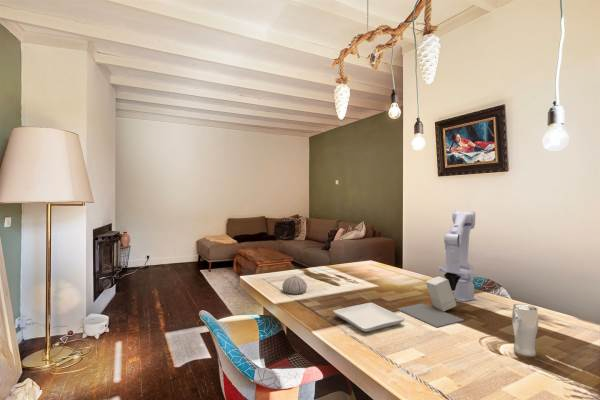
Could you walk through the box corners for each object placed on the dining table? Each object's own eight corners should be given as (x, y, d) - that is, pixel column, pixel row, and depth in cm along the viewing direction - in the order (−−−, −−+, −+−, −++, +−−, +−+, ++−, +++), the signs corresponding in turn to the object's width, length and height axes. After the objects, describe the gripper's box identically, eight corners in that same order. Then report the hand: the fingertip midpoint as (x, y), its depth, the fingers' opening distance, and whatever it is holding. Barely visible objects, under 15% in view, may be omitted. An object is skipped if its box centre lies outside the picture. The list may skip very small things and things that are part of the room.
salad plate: (364, 337, 116) (364, 328, 116) (331, 317, 135) (331, 309, 135) (406, 326, 126) (406, 318, 126) (371, 309, 144) (371, 302, 144)
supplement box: (457, 305, 141) (448, 279, 141) (443, 312, 140) (434, 285, 140) (446, 301, 149) (438, 275, 148) (433, 307, 147) (424, 281, 147)
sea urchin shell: (298, 286, 179) (298, 272, 179) (312, 293, 168) (312, 277, 167) (277, 290, 172) (277, 275, 172) (290, 297, 160) (290, 281, 160)
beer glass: (506, 347, 108) (507, 303, 108) (526, 347, 109) (526, 303, 108) (522, 358, 101) (523, 311, 101) (543, 357, 102) (544, 310, 101)
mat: (422, 304, 151) (422, 303, 151) (464, 320, 131) (464, 319, 131) (396, 309, 144) (396, 308, 143) (436, 327, 124) (436, 326, 124)
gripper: (433, 257, 148) (432, 287, 148) (461, 264, 135) (460, 295, 135) (443, 256, 151) (443, 285, 151) (472, 262, 138) (471, 293, 138)
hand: (452, 290), depth 143 cm, fingers closed
